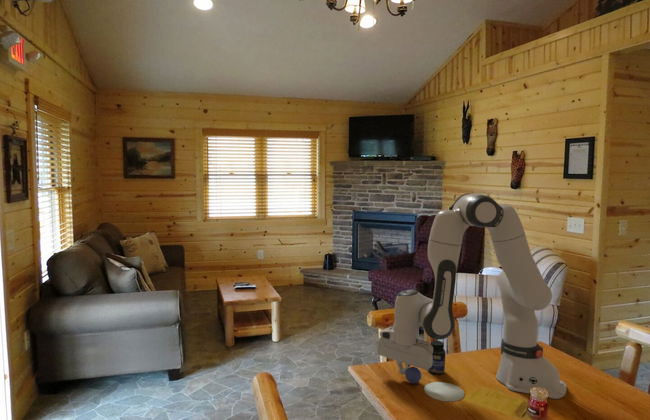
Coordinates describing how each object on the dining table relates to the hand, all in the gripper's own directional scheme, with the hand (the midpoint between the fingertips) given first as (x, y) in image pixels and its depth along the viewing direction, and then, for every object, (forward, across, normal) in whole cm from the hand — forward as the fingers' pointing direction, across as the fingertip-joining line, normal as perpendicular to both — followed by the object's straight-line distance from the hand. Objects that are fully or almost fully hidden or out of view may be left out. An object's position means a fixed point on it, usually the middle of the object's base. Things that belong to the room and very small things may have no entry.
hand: (403, 373), depth 160 cm
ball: (-1, -4, 0) cm, 4 cm away
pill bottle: (+2, -7, -13) cm, 15 cm away
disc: (+2, -15, 0) cm, 15 cm away
